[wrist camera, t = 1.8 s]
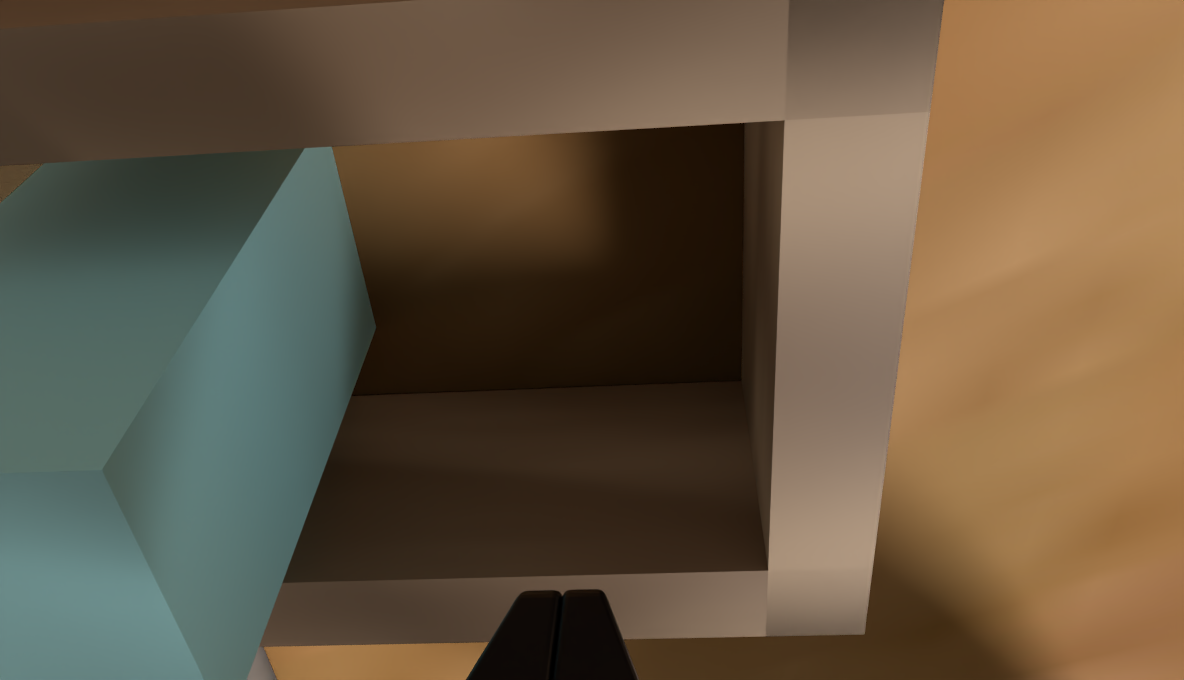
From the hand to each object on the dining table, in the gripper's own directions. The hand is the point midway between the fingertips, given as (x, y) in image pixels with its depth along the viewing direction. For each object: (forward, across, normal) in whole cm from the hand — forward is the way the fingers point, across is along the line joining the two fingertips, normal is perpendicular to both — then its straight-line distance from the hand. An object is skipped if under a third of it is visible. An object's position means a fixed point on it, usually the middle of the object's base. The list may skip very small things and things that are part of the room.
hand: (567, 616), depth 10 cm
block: (+8, +6, 0) cm, 10 cm away
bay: (+8, +2, 0) cm, 8 cm away
